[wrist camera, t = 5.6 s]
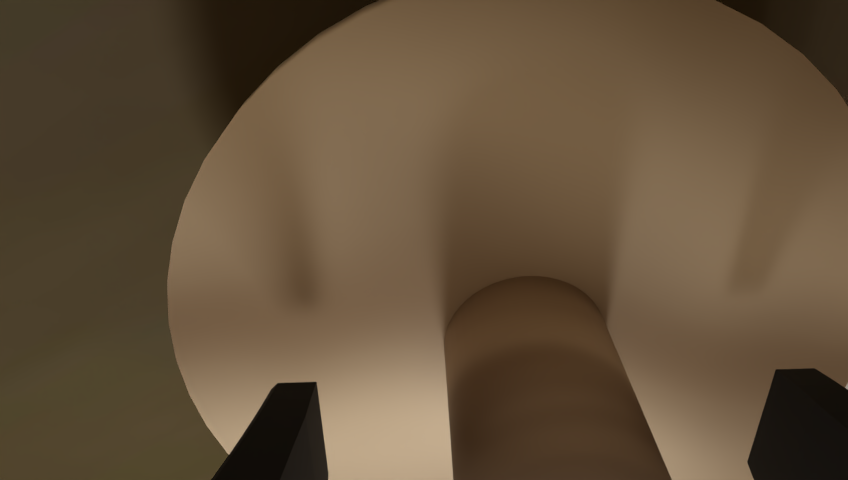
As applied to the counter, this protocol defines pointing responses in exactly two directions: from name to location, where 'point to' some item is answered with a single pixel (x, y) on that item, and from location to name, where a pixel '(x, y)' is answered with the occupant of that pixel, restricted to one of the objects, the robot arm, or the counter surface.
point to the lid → (521, 240)
